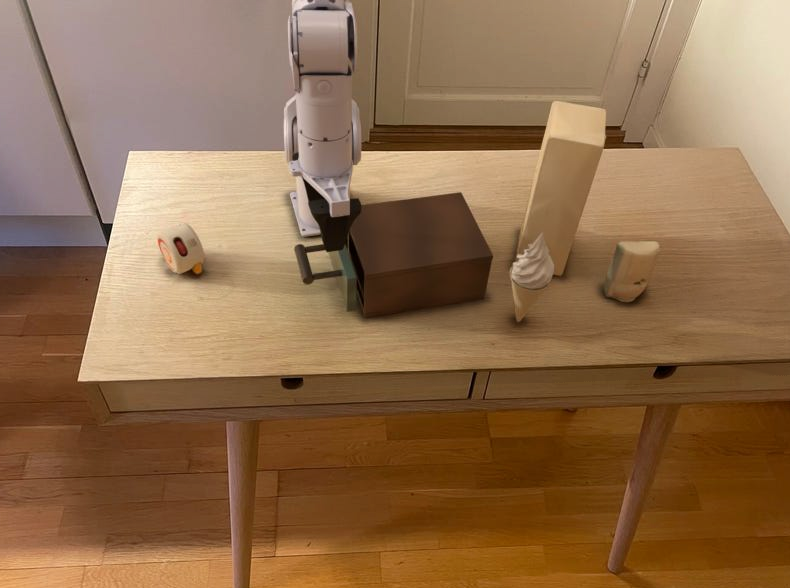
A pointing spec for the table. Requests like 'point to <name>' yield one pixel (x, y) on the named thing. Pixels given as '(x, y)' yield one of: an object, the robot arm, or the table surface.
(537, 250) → the ice cream cone
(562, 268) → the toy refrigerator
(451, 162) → the table surface
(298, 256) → the drawer
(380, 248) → the cabinet
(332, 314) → the table surface
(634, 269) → the cream stubby rounded block
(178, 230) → the roller toy
